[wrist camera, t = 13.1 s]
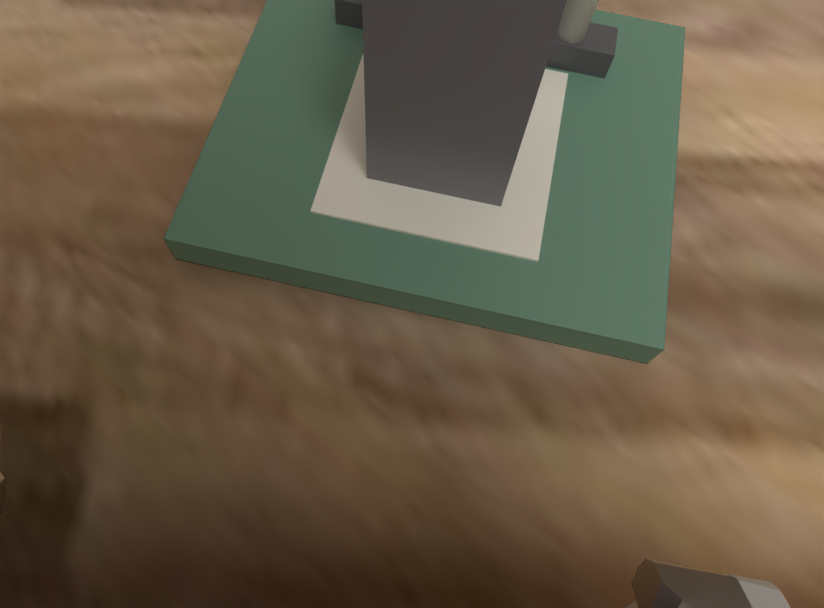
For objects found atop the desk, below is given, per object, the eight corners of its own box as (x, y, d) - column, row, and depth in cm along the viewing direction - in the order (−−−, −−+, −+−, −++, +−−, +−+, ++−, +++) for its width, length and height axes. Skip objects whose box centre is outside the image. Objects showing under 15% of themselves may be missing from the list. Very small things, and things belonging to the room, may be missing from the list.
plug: (366, 178, 19) (360, -84, 12) (397, 75, 21) (408, -212, 13) (500, 206, 19) (579, -41, 11) (521, 101, 20) (602, -176, 13)
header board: (175, 258, 19) (70, 85, 13) (293, -22, 24) (261, -254, 17) (647, 363, 19) (795, 239, 12) (671, 53, 23) (785, -157, 17)
